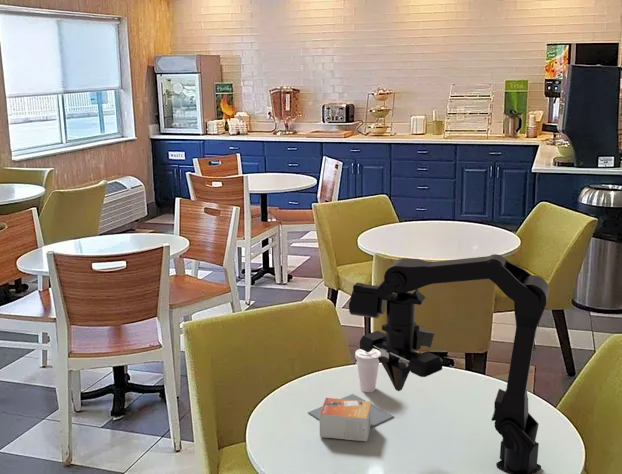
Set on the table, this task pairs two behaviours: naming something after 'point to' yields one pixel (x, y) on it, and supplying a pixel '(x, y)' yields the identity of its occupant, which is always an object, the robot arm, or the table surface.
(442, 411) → the table surface
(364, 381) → the smoothie
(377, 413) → the mat
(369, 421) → the small box
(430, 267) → the robot arm
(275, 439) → the table surface
